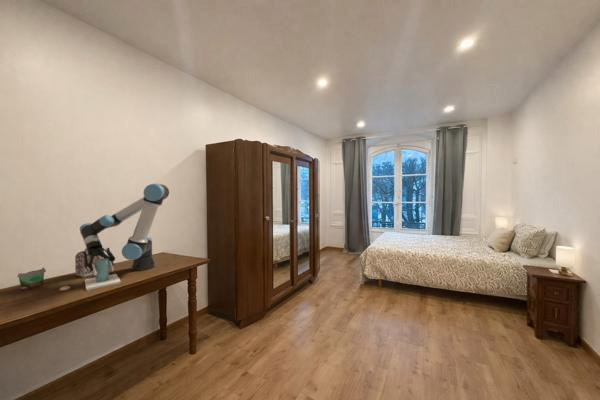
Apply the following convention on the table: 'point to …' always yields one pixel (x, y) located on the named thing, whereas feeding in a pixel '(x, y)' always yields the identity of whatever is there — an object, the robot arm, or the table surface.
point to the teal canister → (102, 270)
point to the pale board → (94, 284)
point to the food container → (31, 279)
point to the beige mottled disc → (64, 288)
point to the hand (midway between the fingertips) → (104, 272)
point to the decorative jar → (79, 264)
